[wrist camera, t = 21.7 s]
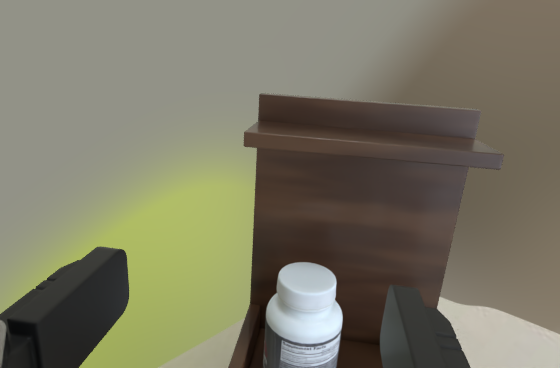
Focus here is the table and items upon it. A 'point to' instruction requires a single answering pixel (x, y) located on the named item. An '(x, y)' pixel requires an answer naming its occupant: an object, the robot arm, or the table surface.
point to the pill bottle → (303, 319)
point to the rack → (356, 206)
